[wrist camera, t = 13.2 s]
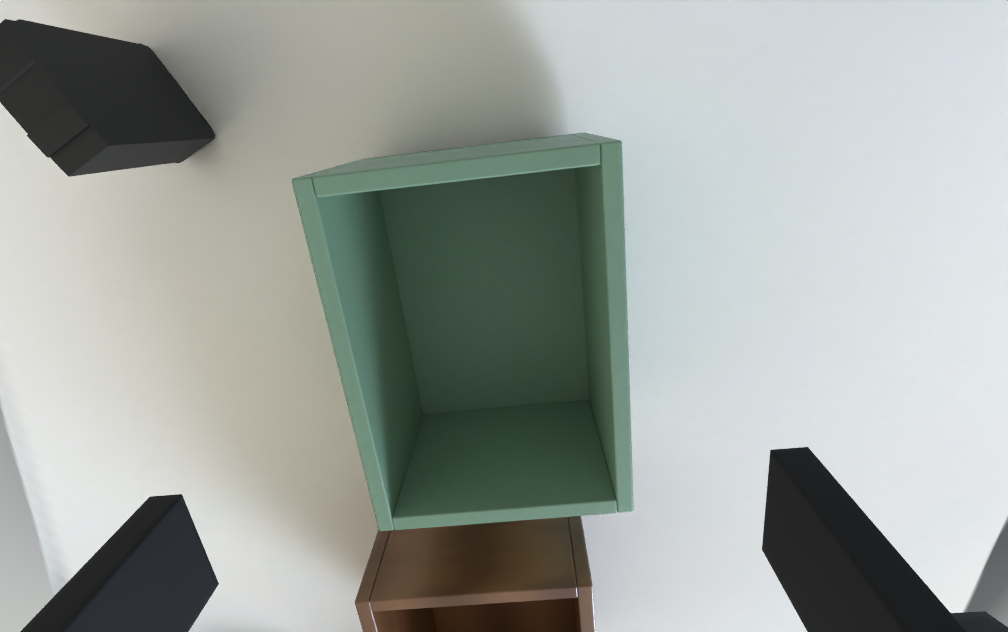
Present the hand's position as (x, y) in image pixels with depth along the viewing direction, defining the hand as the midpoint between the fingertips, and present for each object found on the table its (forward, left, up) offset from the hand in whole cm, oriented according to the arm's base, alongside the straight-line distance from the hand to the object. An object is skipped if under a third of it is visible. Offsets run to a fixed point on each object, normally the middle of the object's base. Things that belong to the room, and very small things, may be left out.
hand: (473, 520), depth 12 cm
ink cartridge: (+15, -11, -19) cm, 26 cm away
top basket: (0, 0, -18) cm, 18 cm away
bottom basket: (+2, +19, -18) cm, 27 cm away
